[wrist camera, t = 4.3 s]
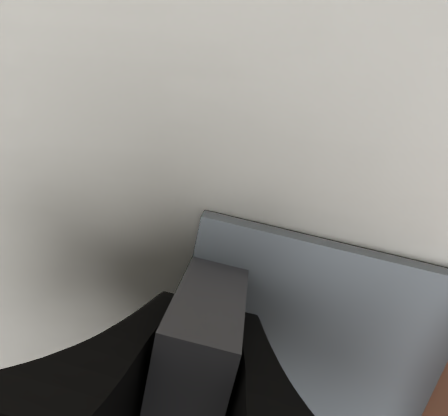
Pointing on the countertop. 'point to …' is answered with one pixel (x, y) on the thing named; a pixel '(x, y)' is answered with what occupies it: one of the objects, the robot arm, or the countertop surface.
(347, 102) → the countertop surface
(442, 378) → the terracotta block
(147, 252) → the countertop surface
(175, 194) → the countertop surface
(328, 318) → the slate strip
